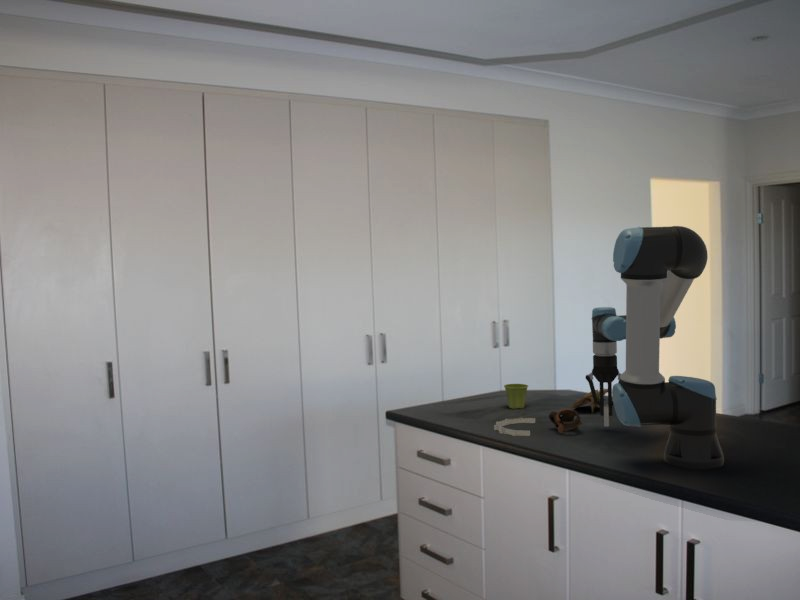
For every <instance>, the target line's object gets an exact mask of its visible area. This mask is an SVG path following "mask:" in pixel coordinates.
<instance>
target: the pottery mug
mask: <svg viewBox="0 0 800 600" xmlns="http://www.w3.org/2000/svg"><path fill="white" fill-rule="evenodd" d="M548 419H549V420H550V421H551V423H553V425H554V427H555V428H557V432H558V433H559V434H561V435H562V434H563V433H564V432H567V431H571V430H575V429H577V430H578V429H579V426H580V425H583V423H582V421H581V419H582V418H581V416H580V414H579V412H578V411H576V410H575V409H572V408H565V409H561V410H559V411H558V412H557V411H551V412H550V413H549V415H548Z"/></svg>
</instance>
